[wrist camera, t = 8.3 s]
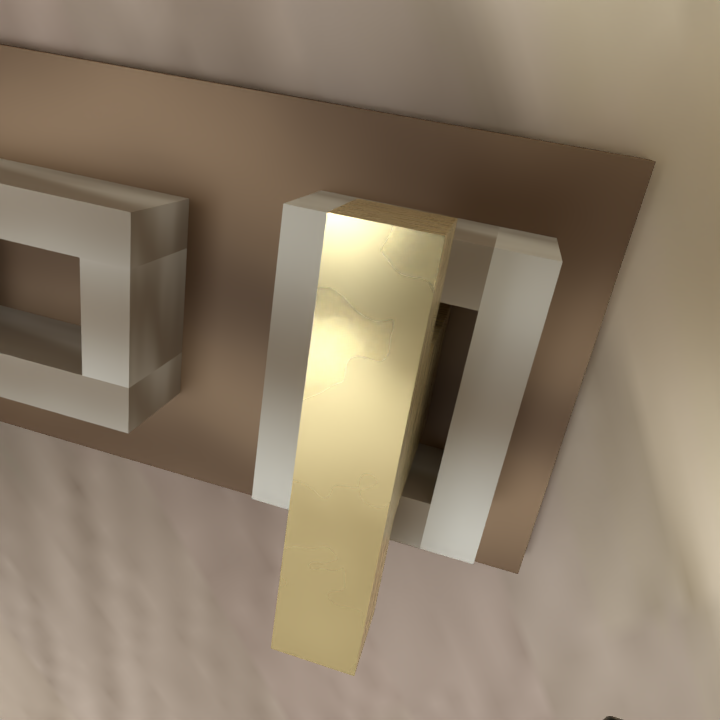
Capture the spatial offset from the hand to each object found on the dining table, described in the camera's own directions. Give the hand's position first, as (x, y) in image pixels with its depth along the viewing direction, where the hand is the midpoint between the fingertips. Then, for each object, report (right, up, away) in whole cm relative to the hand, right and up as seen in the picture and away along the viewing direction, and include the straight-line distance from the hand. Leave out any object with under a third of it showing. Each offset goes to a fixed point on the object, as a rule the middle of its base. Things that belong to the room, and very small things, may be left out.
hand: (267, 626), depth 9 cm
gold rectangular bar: (+3, +4, +10) cm, 11 cm away
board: (-3, +6, +12) cm, 13 cm away
